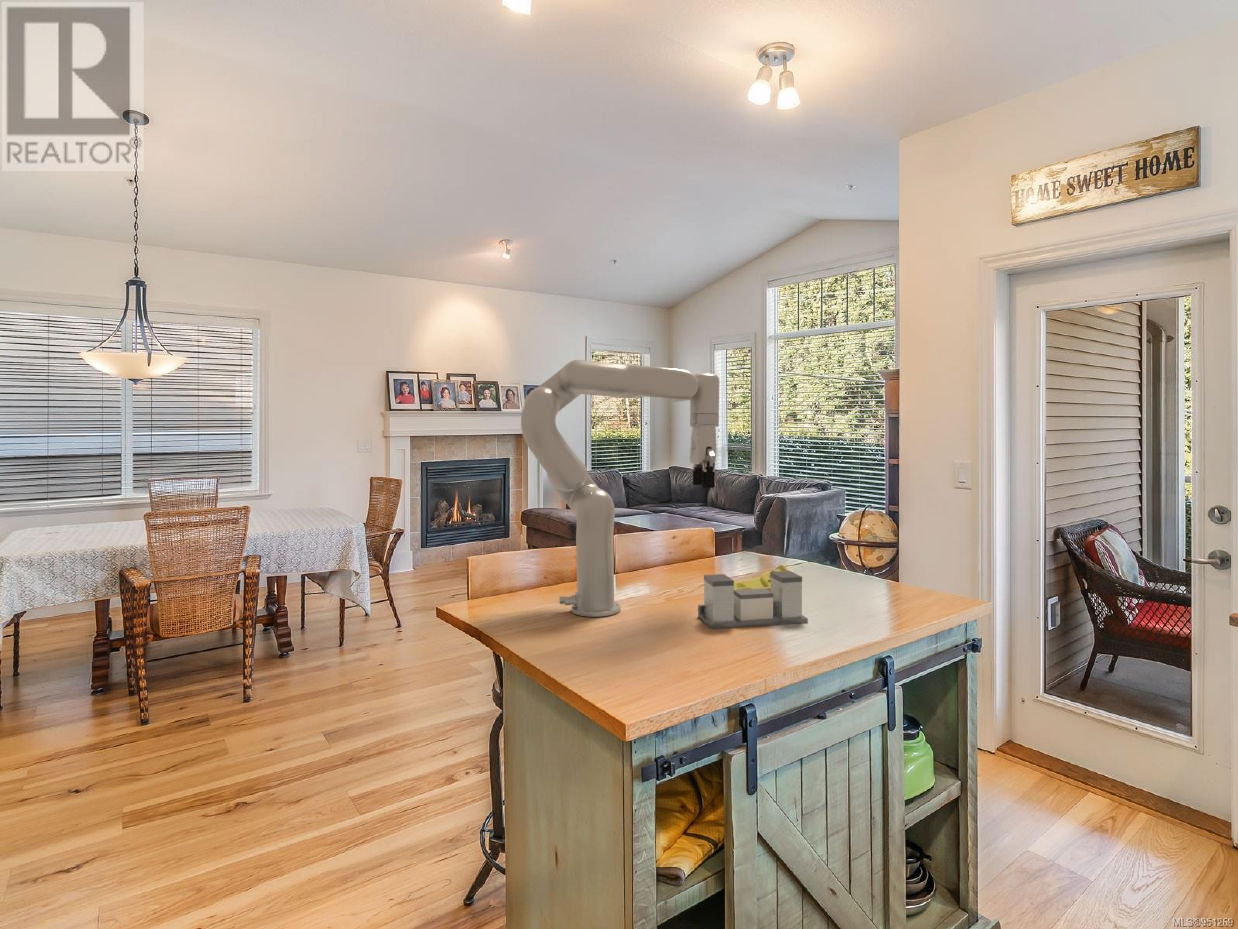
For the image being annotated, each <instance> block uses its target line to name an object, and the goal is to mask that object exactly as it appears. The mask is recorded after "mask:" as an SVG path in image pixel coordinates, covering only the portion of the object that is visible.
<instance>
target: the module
mask: <svg viewBox="0 0 1238 929" xmlns="http://www.w3.org/2000/svg"><path fill="white" fill-rule="evenodd" d="M734 615H735V616H736V617H737V618H738V619H740V620H741V621H743V620H758V619H773V593H772V592H770V591H769V590H767V589H765V588H761V589H743V590H734Z"/></svg>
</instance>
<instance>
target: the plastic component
mask: <svg viewBox="0 0 1238 929" xmlns="http://www.w3.org/2000/svg"><path fill="white" fill-rule="evenodd" d="M776 571H790V569H788V568H787V567H786V565H785V564H780V565H778V566H777V567H776V568H775V569H770V570H768V571H765V572H763V573H762V574H761V575H760V577H759V576H758V577H753V578H747V579H743V580H737V581H734V590H743V589H761V588H765V589H767V590H769V591H770V592H771V577H770V572H776Z"/></svg>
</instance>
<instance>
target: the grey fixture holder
mask: <svg viewBox="0 0 1238 929" xmlns="http://www.w3.org/2000/svg"><path fill="white" fill-rule="evenodd" d="M770 577H771V592H772V593H773V619H758V620H743V621H741V620H740V619H738V618H737V617H736V616H735V615H734V582H735V581H734V579H733V578H730V577H729V576H728V575H726V574H725V573H721V574H704V575H703V581H704V582H703V583H704V584H703V592H704V594H703V595H704V596H703V600H704V602H703V604H698V605H697V617H698V619H700V620H701V621H702V622H703V623H704V624H705V625H706V626H707V627H708V628H709V629H710V630H711V629H712V630H713V629H714V630H715V629H716V630H717V629H727V628H730V629H731V628H743V627H746V628H747V627H759V626H760V627H761V626H773V625H774V626H775V625H791V624H803V623H804V624H805V623H806V624H807V623H808V622H809V619H808V617H806V616H805V615H803V576H801V575H799V574H797V573H796V572H793V571H791V570H789V571H776V572H770Z"/></svg>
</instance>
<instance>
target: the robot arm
mask: <svg viewBox="0 0 1238 929" xmlns="http://www.w3.org/2000/svg"><path fill="white" fill-rule="evenodd" d="M580 395H590V396H599V397H610V398H618V399H620V398H621V399H635V398H644V397H645V398H646V397H647V398H661V399H662V398H663V399H665V400H666V401H668V402H672V403H677V402H683V401H686V402H687V401H690V403H689V405H690V406H689V409H690V411H689V414H690V415H689V427H692V428H691V436H690V450H689V452H690V453H689V462H690V463H691V464H693V465H692V466H693V467H692V469H693V470H692V485H694V486H701V487H702V488H703V489H710V488H711V489H714V488H715V482H716V481H715V479H716V462H717V461H716V460H717V431H716V428H719V427H720V377H719V376H718V375H717V374H715V373H696V374H694V373H692V372H691V371H688V370H686V369H679V368H669V367H662V366H661V367H660V366H647V365H646V366H644V365H643V366H642V365H637V364H636V365H635V364H623V363H622V364H621V363H611V362H605V361H597V360H596V361H595V360H588V359H587V360H585V359H575V360H571V361H569V362H567V363H566V364H565V365H564V366H562V367H561V368H560V370H558V371H556V373H555V374H553V375H552V376H551V377H549V378H548V379H547V380H545V381H544V382H543V383H541V384H540V385H538V387H535V388H534V389H533V390H531V391H530V392H529V393H528V394H527V395H526V397H525V399H524V403H523V407H522V412H521V417H520V419H521V420H520V424H521V425H520V427H521V428H520V429H521V433H522V438H523V439H524V442H525V444H526V446H527V447H528V448H529V450H530V451H531V453H532V454H533V455H534V457H535V458H536V460H537V461H538V463H539V465H540V466H541V467H542V468H543V469H544V471H545V472H546V475H547V476H546V477H547V479H548V481H549V483H550V484H551V486H552V487H553V488H554V489H555V491H556V492H557V493H558V495H559V496H560V498H561V499H562V500H563V501H564V503H565V504H566V505H567V506H568V507H569V509H570V510H571V512H572V513H573V514H574V515H575V516H576V529H575V530H576V531H575V535H576V536H575V545H576V549H575V550H576V591H574V594H571V595H570V596H566V595H565V596H563V595H562V596H559V597H558V599H559V601H558V603H559V605H564V606H570V605H571V613H573V615H578V616H581V617H587V618H588V617H589V618H593V617H594V618H596V617H597V618H598V617H600V618H601V617H608V616H612V615H615V614H618V613H619V612H620V611H621V605H620V603H619V602H616V601H615V573H614V572H615V561H614V556H615V555H614V553H615V552H614V528H615V516H616V514H615V513H616V509H615V508H616V507H615V503H614V500H613V499H612V497H611V495H610V494H609V493H608V492H607V491H605V490H604V489H602V488H600V487H599V486H598V485H597V483H596V482H595V481H594V479H593V478H592V477H591V476H590V474H589V473H588V471H587V467H586V466H585V463H584V462H583V461H582V459H581V458H579V456H578V455H577V454H576V453H575V452H574V450H573V449H572V448H571V446H570V445H569V443H567V440H566V439H565V438H564V436H563V435H562V433H560V431H559V429H558V427H557V423H556V417H557V415H558V413H560V412H561V410H563V409H564V408H565V407H567V406H568V405H569V404H570V403H572V402H573V401H574V400H575V399H577V398H578V397H579V396H580Z"/></svg>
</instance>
